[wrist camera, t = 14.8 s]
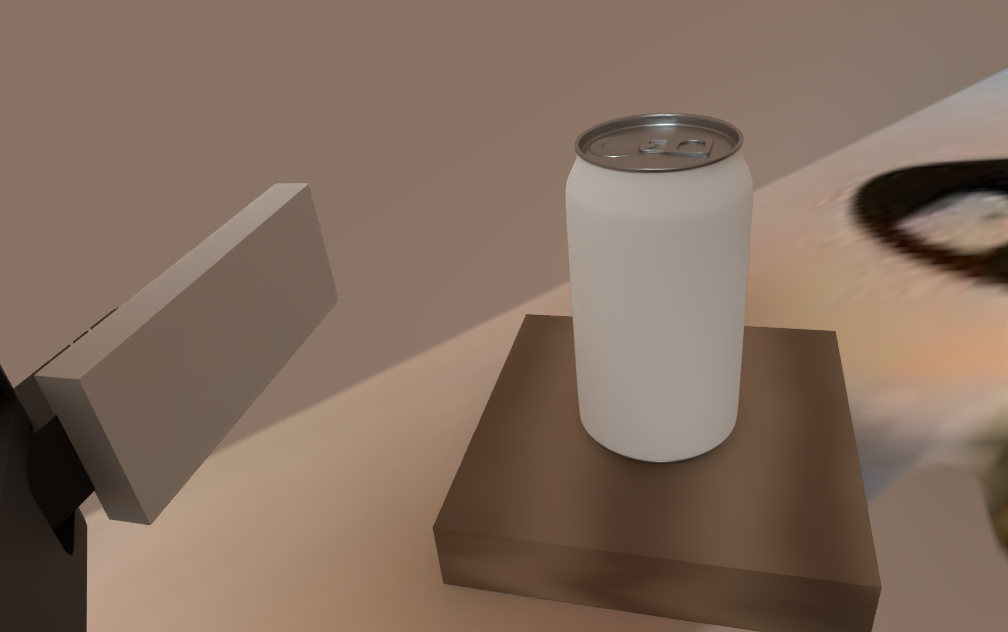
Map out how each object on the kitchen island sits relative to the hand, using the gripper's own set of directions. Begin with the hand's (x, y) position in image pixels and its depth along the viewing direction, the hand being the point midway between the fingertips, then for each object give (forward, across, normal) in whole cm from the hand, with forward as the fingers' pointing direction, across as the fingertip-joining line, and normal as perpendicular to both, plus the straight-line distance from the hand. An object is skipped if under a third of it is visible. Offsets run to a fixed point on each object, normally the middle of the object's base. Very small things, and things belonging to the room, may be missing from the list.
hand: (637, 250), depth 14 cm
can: (+13, -1, -15) cm, 20 cm away
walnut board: (+13, -1, -18) cm, 22 cm away
